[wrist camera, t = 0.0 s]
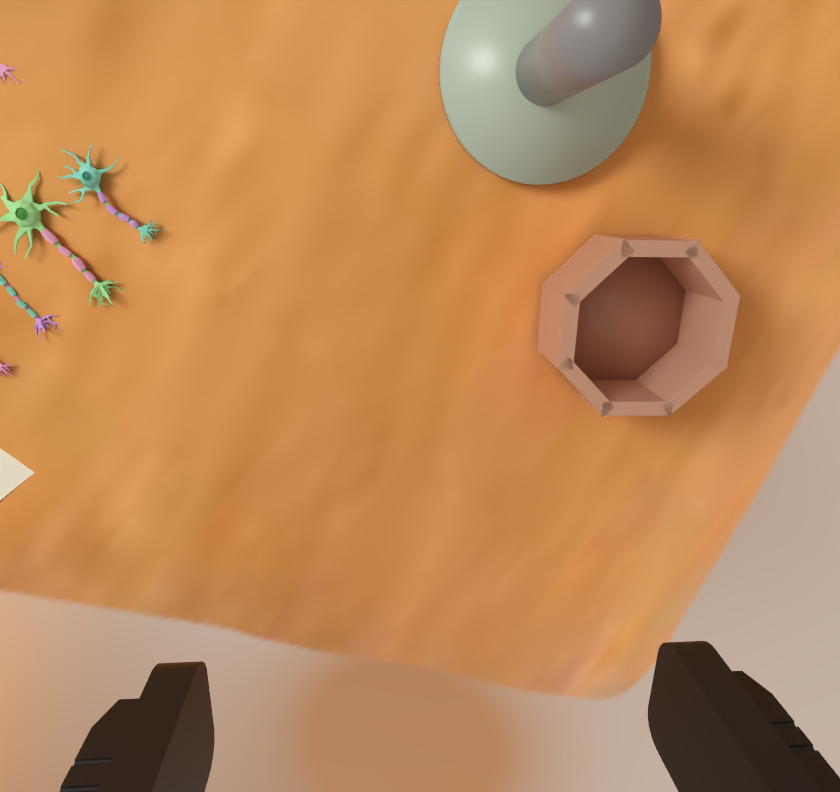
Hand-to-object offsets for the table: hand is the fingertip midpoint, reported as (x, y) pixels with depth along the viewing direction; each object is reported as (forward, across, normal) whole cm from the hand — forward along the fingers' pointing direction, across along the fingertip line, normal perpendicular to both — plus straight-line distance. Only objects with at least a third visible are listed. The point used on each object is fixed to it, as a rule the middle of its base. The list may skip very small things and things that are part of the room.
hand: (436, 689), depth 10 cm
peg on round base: (+29, -9, -15) cm, 34 cm away
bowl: (+29, -15, -1) cm, 33 cm away
